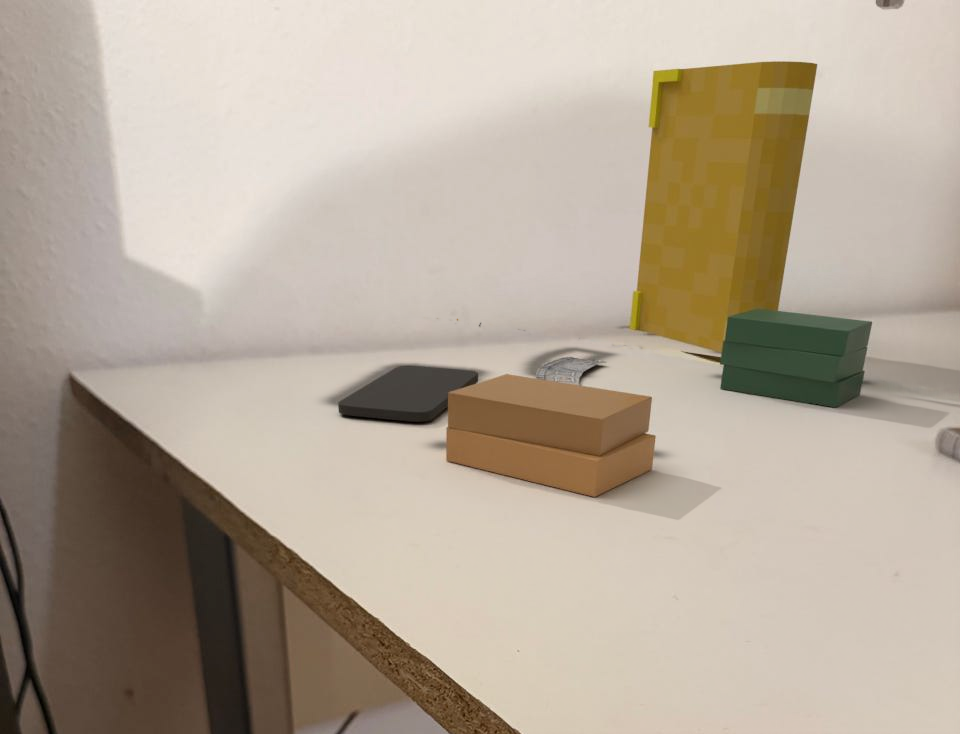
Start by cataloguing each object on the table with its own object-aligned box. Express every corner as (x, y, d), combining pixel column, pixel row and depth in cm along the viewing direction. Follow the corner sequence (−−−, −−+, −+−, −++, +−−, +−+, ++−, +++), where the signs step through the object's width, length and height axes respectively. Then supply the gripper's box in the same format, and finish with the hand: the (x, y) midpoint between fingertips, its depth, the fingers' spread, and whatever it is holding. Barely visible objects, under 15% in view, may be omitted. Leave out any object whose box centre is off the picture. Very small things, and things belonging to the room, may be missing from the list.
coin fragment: (574, 389, 80) (575, 384, 80) (520, 382, 81) (520, 377, 81) (609, 363, 90) (609, 358, 90) (560, 357, 92) (561, 352, 92)
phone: (332, 404, 70) (399, 364, 82) (332, 415, 70) (399, 374, 83) (428, 413, 68) (482, 371, 81) (428, 425, 68) (482, 381, 81)
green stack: (860, 394, 81) (870, 346, 79) (834, 408, 76) (844, 357, 74) (745, 376, 87) (752, 331, 85) (713, 389, 82) (720, 341, 80)
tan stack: (655, 467, 61) (663, 398, 59) (594, 497, 55) (600, 422, 53) (510, 436, 66) (512, 372, 64) (441, 460, 61) (441, 390, 59)
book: (628, 337, 103) (653, 71, 92) (678, 334, 106) (708, 75, 95) (732, 367, 90) (776, 59, 79) (785, 362, 93) (836, 64, 82)
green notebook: (867, 346, 79) (872, 321, 78) (843, 357, 75) (848, 330, 74) (753, 331, 84) (756, 308, 84) (724, 341, 80) (727, 316, 79)
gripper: (921, -311, 55) (872, -23, 61) (993, -210, 70) (948, 13, 76) (814, -287, 58) (778, -16, 65) (904, -195, 73) (867, 18, 79)
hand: (870, 0), depth 71 cm, fingers open, 8 cm apart
